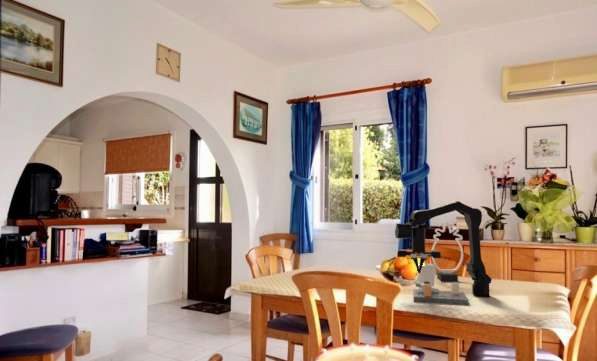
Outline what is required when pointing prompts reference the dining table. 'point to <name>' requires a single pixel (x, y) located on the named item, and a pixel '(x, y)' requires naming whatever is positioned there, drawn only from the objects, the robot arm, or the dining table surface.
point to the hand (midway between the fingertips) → (419, 272)
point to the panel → (440, 297)
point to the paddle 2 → (455, 287)
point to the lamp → (448, 273)
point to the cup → (427, 274)
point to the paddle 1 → (427, 290)
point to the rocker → (423, 287)
